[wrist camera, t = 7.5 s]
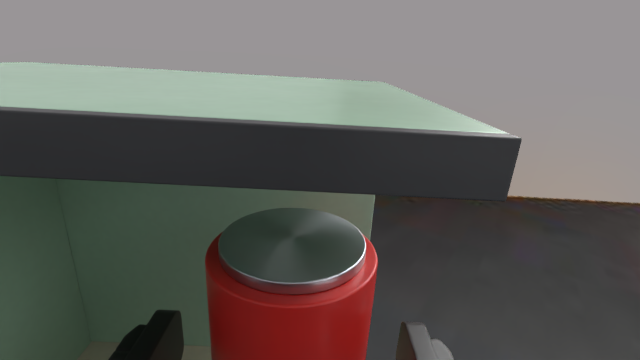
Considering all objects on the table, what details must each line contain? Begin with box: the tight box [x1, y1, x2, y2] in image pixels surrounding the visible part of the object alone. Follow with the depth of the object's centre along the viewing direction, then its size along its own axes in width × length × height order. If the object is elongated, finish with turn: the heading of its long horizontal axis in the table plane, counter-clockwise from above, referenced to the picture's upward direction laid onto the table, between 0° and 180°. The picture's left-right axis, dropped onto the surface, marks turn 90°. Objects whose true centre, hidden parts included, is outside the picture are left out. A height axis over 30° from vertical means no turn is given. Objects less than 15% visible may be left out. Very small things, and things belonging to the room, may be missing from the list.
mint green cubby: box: [0, 62, 521, 360], centre depth 13 cm, size 11×16×16 cm
